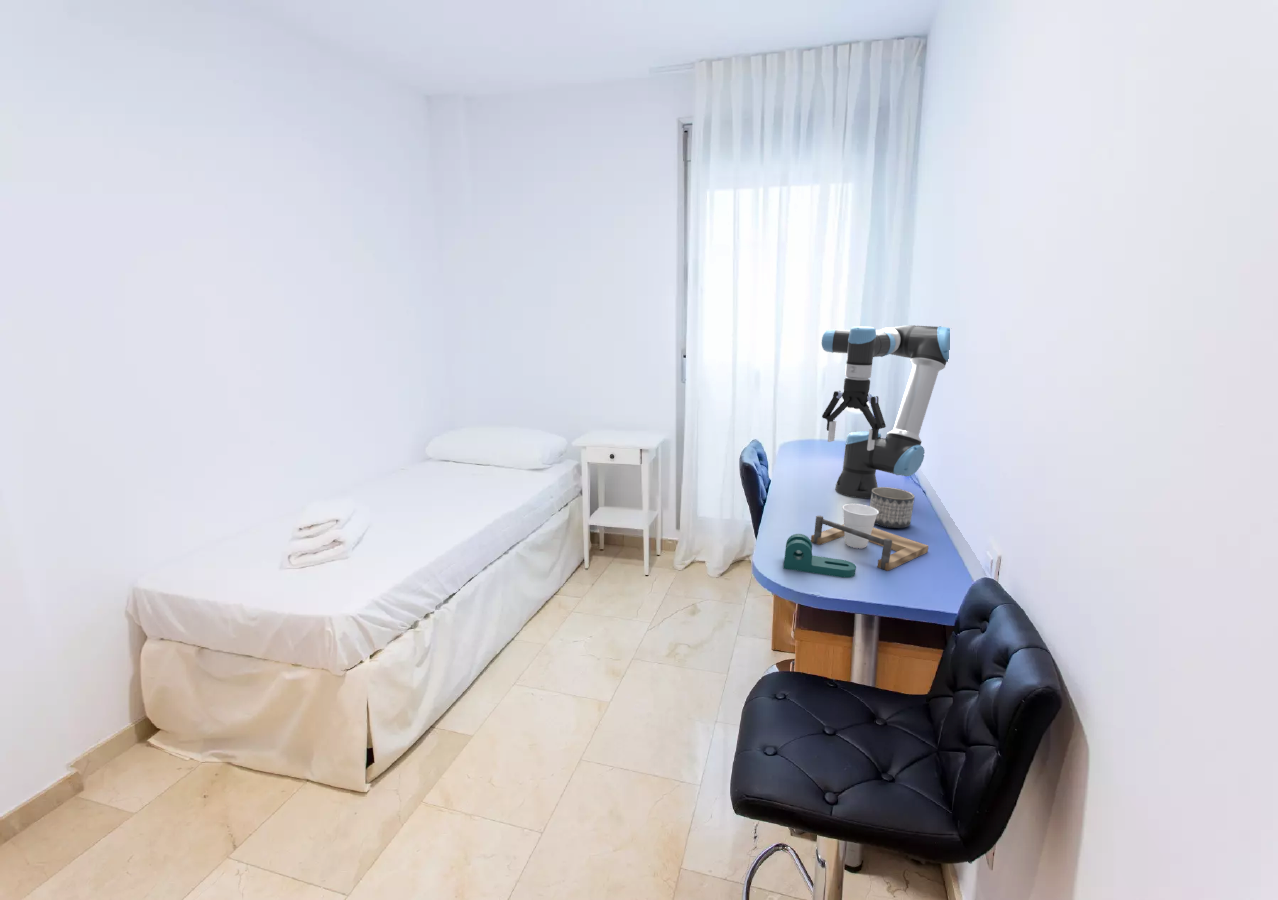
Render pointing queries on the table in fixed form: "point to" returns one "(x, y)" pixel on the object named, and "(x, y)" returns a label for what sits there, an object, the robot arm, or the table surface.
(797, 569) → the bracket
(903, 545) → the wooden frame with crossbar
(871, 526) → the cup
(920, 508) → the table surface
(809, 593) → the table surface
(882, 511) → the planter
